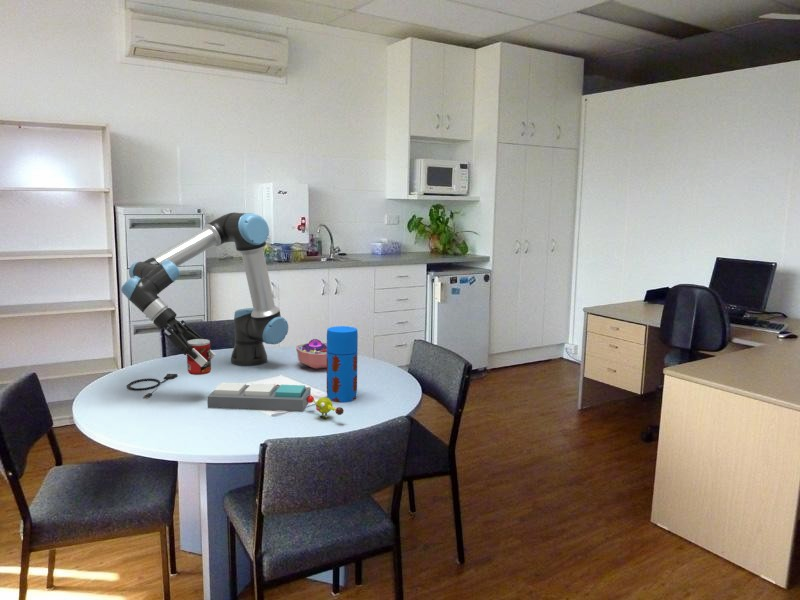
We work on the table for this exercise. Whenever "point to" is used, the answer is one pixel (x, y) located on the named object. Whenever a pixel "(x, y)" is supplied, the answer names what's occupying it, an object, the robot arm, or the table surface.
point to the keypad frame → (258, 401)
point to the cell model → (313, 354)
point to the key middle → (260, 390)
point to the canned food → (204, 350)
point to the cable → (167, 377)
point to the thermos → (342, 363)
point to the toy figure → (324, 406)
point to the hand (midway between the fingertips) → (208, 360)
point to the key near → (230, 389)
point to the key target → (290, 391)
